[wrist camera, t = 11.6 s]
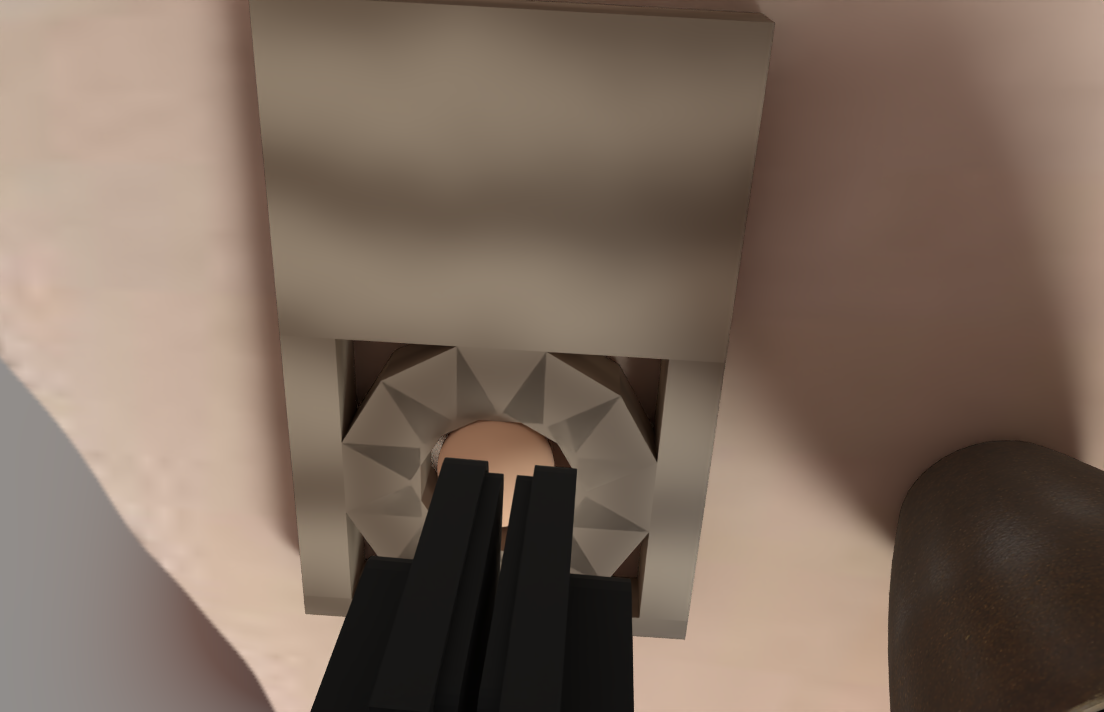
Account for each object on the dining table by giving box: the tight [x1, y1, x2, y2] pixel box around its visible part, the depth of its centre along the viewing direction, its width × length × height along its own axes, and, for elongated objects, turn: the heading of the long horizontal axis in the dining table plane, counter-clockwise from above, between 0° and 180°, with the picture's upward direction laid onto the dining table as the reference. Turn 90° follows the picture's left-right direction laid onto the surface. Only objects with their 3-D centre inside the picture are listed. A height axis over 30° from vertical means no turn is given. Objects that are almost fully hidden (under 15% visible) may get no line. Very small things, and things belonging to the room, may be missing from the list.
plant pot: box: [888, 441, 1104, 712], centre depth 31 cm, size 15×15×16 cm
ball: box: [437, 420, 554, 527], centre depth 36 cm, size 4×4×4 cm
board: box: [249, 0, 775, 639], centre depth 35 cm, size 24×16×2 cm, turn 177°
